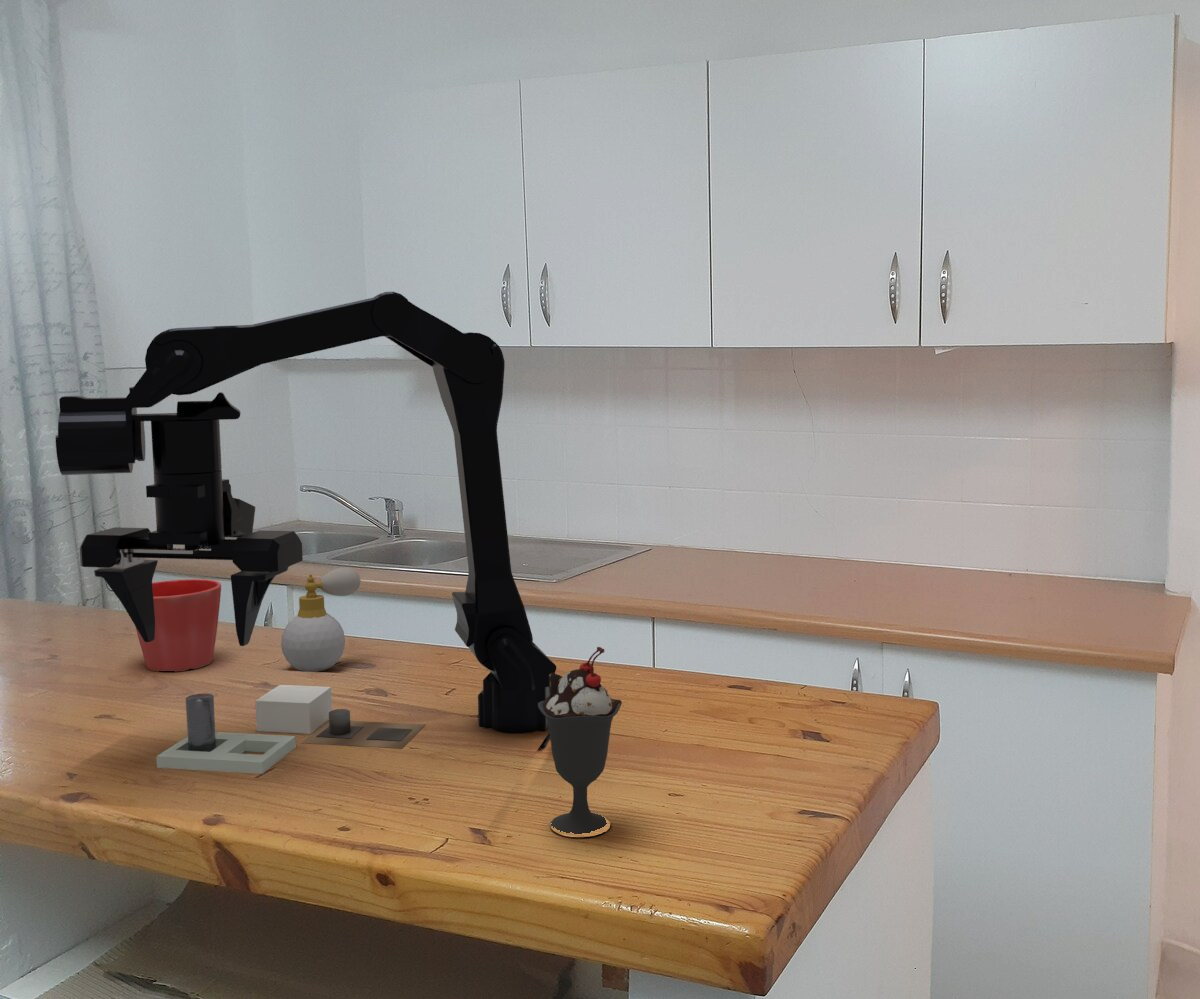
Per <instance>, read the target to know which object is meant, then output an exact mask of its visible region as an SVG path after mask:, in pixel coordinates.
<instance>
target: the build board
mask: <svg viewBox="0 0 1200 999" xmlns="http://www.w3.org/2000/svg"><path fill="white" fill-rule="evenodd" d="M215 735H216V748H215V749H214V750H212V751H211V752H204V751H188V736H186V737H184V738H183V739H181V740H179V741H178V742H177V743H175V744H173V745H172V746H171V747H169V748H167V749H165V750H164V751H162V752H161V753H159V754H158V755H156V759H155V760H156V768H157V769H173V770H175V769H176V770H188V771H189V770H193V771H204V772H205V771H210V772H211V771H212V772H227V773H229V772H230V773H241V774H242V773H243V774H260V775H261V774H264V773H265V772H266V771H268V770H269V769H270V768H272V767H273V766H274V765H275V764H277V763H278V762H279V761H281V760H283V758H285V756H287V755H289V753H291V752H292V751H293V750H294V749H295V748H297V737H296V735H284V734H283V735H282V734H281V735H280V734H279V735H278V734H264V733H263V734H258V733H243V732H242V733H241V732H223V731H221V732H220V731H215ZM244 752H251V753H244ZM252 752H256V753H257V754H254V753H252ZM258 753H262V754H258Z"/></svg>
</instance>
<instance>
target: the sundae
mask: <svg viewBox="0 0 1200 999" xmlns="http://www.w3.org/2000/svg"><path fill="white" fill-rule="evenodd" d="M598 652H599V653H598ZM603 653H605V648H602V647H601V646H597V647H596V651H595V652H593V653H592V654H591V656H590V657H589V659H588V661H586V662H583V663H581V664H580V665H579V668H578V669H574V670H570V671H568V672H566V673H565V675H563V676H562V675H560V674H557V673H555V674H554V673H551V674H550V675H549V697H547V698H546V700H545V701H541V702H539V703H538V708H539V710H540V711H541V712H542V713H543V715H544V716H546V717H547V721H548V731H549V732H548V733H550V740H549V741H550V747H551V755H552V759H553V763H554V767H555V770H556V772H557V773H558V774H559V776H560V777H561V778H562V779H563V780H564V781H565V782H567V783H568V784H569V785H571V787H572V792H573V793H572V794H573V798H572V799H573V800H572V806H571V810H570V811H569V812H568V813H563V814H560V815H558V816H555V817H554V818H553V819H552V820H551V822H550V823H552V824H551V826H553V828H554V827H555V828H556V829H557V830H560V832H561V831H563V832H566V833H570V832H572V833H574V834H582V833H590V832H591V831H595V830H597V829H600V828H602V827H604V826H605V825H606V824H607V823H606V820H605V818H604V817H602V816H601V814H600V815H598V814H599V813H596V812H592V811H591V810H590V806H589V802H588V787H589V786H590V784H592V783H593V782H595V781H596V780H597V779H598V778H599V777H600V776H601V774H602V773H603V772H604V770H605V766H606V763H607V758H608V751H609V743H610V736H611V735H610V734H611V728H612V722H613V718H614V717H615V716H616V715H617V714H618V712H619V711H620V709H621V708H622V707H621V706H622V703H623V702H622V700H621V699H617V698H612V697H611V696H610V694H609V692H608V691H607V689H606V688H605V687H604V686H603V685H602V684H601V681H602V677H601V675H599V674H597V673H595V672H594V670H595V668H594V662H595V661H596V659H597V658H598V657H599V656H600V655H601V654H603ZM596 654H597V655H596ZM592 658H593V659H592ZM591 660H592V661H591ZM590 661H591V662H590ZM595 813H596V814H595Z"/></svg>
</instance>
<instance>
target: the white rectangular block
mask: <svg viewBox="0 0 1200 999" xmlns="http://www.w3.org/2000/svg"><path fill="white" fill-rule="evenodd" d="M332 696H333V695H332V687H331V686H316V685H296V684H295V685H293V684H279V685H277V686H276V687H274V688H272V689H271V690H270V691H268V692H266V693H265V694H264V695H262V696H261V697H259V698H257V699H256V700H255V702H254V703H255V722H256V732H265V733H283V734H284V733H285V734H286V733H288V734H306V735H307V734H308V735H311V734H313V733H314V732H315V731H316V730H318V729H319V728H320V727H321V726H323V725H324V724H325V723H326V722H328V721H329V712H330V711H332V710H333V703H332V702H333V700H332V699H333V697H332Z"/></svg>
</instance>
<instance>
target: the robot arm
mask: <svg viewBox="0 0 1200 999" xmlns="http://www.w3.org/2000/svg"><path fill="white" fill-rule="evenodd" d="M381 337H382V338H383V337H385V338H386V339H388V340H389V341H391V342H392V343H394V344H396V346H399V347H400V348H402V349H404V351H406V352H408V353H409V354H411V355H412V356H414V357H415V358H417V359H418V360H420V361H422V362H423V363H424V364H426V365H428V366H430V367H431V368H432V371H433V374H434V375H433V376H434V379H435V382H436V384H437V388H438V392H439V395H440V398H441V401H442V405H443V407H444V409H445V413H446V415H447V417H448V420H449V422H450V426H451V428H452V433H453V438H454V440H453V441H454V448H455V456H456V465H457V466H456V467H457V476H458V477H457V478H458V485H459V492H460V493H459V494H460V501H461V503H460V504H461V512H462V520H463V530H464V539H465V548H466V549H465V550H466V558H467V568H468V574H467V582H466V587H465V591H453V592H452V593H451V597H452V600H453V604H454V607H455V611H456V624H455V627H454V631H455V633H456V634H457V636H459V638H460V639H461V641H462V642H463V643H464V645H465V646H466V647H467V648H468V649H469V650H470V652H471V653H472V654H473V656H474V657H475V659H476V660H477V661H478V663H480V664H481V665H482V666H483V667H484V668H485V669H487V670H489V671H490V672H489V673H488V674H487V675H486V676H485V677H484V678H483V680H482V689H481V691H480V692H479V693H478V695H477V714H478V715H477V716H478V719H477V720H478V727H479V728H483V729H488V730H489V729H491V730H493V731H495V732H497V733H500V734H501V733H502V734H511V735H512V734H514V735H516V734H518V735H521V734H530V733H534V732H546V731H547V730H549V727H548V721H547V717H546V716H544V715H543V713H542V712H541V711H540V710H539V708H538V703H539V702H541V701H545V700H546V698H547V697H549V675H550V674H551V673H554V674H556V671H557V665H556V664H555V662H553V661H552V660H551V659H550V657H549V656H547V655H546V653H544V651H543V650H541V648H540V647H539V646H538V645H536V643H535V642H534V638H533V632H532V630H531V627H530V623H529V619H528V616H527V615H528V614H527V613H526V609H525V608H526V607H525V605H524V602H523V599H522V597H521V595H520V592H519V590H518V587H517V584H516V582H515V579H514V576H513V573H512V564H511V556H510V547H509V546H510V545H509V537H508V536H509V535H508V527H507V518H506V506H505V496H504V489H503V488H504V487H503V478H502V468H501V460H500V459H501V458H500V457H501V456H500V449H499V441H498V440H499V439H498V438H499V437H498V422H499V417H500V413H501V408H502V403H503V394H504V383H505V382H504V379H505V369H506V368H505V357H504V354H503V350H502V349H501V347H500V345H499V344H498V343H496V341H495V340H493V339H492V338H491V337H490V336H488V335H486V334H484V333H483V334H482V333H480V332H462V331H461V330H459V329H458V328H456V327H454V326H453V325H451V324H449V323H448V322H446V321H444V320H442V319H441V318H439V317H436V316H435V315H433V314H432V313H429V312H428V311H426V310H424V309H422V308H420V307H419V306H417V305H416V304H414V303H413V302H411V301H409V299H408V298H407V297H406V296H404V295H403V294H401V293H399V292H396V291H383V292H381V293H379V294H377V295H375V296H373V297H369V298H365V299H360V300H357V301H352V302H346V303H343V304H339V305H335V306H334V305H333V306H330V307H324V308H320V309H316V310H313V311H306V312H302V313H299V314H298V313H297V314H294V315H289V316H284V317H280V318H275V319H272V320H267V321H261V322H257V323H254V324H253V323H252V324H243V325H242V324H240V325H238V324H237V325H214V326H213V325H212V326H192V327H176V328H168V329H165V330H163V331H162V332H160V333H159V334H156V335H155V336H154V337H153V339H152V340H151V342H150V343H149V345H148V347H147V349H146V352H145V358H144V363H145V371H144V373H143V374H142V375H141V376H140V377H139V379H138V381H137V382H136V383H135V384H134V386H131V387H128V388H129V389H128V390H129V393H128V394H127V396H126V397H125V396H124V397H87V396H81V395H65V396H61V397H60V398H59V400H58V401H59V402H58V403H59V414H58V420H57V435H55V451H56V452H55V453H56V460H57V464H58V469H59V472H60V474H61V475H62V476H75V475H76V476H77V475H78V476H79V475H107V474H108V475H109V474H111V475H113V474H131V473H133V470H134V469H133V468H134V464H136V461H137V462H145V461H146V432H145V431H146V430H145V422H150V430H151V432H150V433H151V434H150V435H151V446H152V447H151V448H152V449H151V450H152V467H153V468H152V469H153V484H150V485H149V484H148V485H145V492H146V494H145V495H146V498H154V503H155V504H154V505H155V506H154V507H155V524H156V530H154V531H151V530H150V529H149V528H148V527H118V526H117V527H116V526H115V527H111V528H108V529H104V530H99V531H95V532H91V533H88V534H86V535H85V536H84V538H83V540H82V542H81V543H80V546H79V559H80V560H79V561H80V562H79V564H80V566H81V567H82V568H98V569H95V570H94V571H93V572H94V576H95V577H97V578H98V577H99V578H102V579H103V580H104V581H105V583H106V584H107V585H108V586H109V588H110V589H111V591H112V592H113V593H114V595H115V596H116V598H117V599H118V600H119V602H120V604H122V606H123V608H124V609H125V611H126V613H127V614H128V616H129V618H130V619H131V621H132V623H133V624H134V625H133V626H136V627H135V629H136V628H137V630H138V631H139V633H140V635H141V637H142V638H143V640H144V641H145V642H151V641H153V640H154V639H155V613H154V600H153V587H152V583H153V578H154V575H155V571H156V570H157V569H156V568H157V566H158V560H157V559H171V560H172V559H176V560H179V559H180V560H212V561H213V560H215V561H218V560H219V561H222V560H223V561H232V563H233V564H234V566H236V567H237V568H238V570H240V571H239V572H238V571H237V572H235V573H233V574H231V575H230V580H231V581H230V582H231V592H232V594H231V595H232V601H233V611H234V612H233V613H234V614H233V615H234V623H235V632H236V636H237V641H238V644H239V646H240V647H245V646H248V644H249V643H250V641H251V637H252V635H253V631H254V628H255V624H256V621H257V618H258V616H259V612H260V610H261V606H262V602H263V600H264V597H265V596H266V594H267V590H268V588H269V587H270V585H271V583H272V582H273V580H274V579H275V578H276V576H278V575H281V574H283V573H286V572H287V571H288V569H289V567H291V566H293V565H296V564H298V563H300V562H303V561H304V559H303V543H302V541H301V538H300V537H299V536H298V534H297V533H296V532H295V530H261V529H260V530H257V531H254V532H253V530H254V522H255V516H256V514H255V513H256V506H254V505H253V504H251V503H249V502H247V501H244V500H242V499H240V498H236V497H233V495H232V485H231V484H230V479H227V478H226V479H225V478H224V479H223V470H222V451H221V450H222V449H221V448H222V447H221V429H220V421H221V420H223V421H225V420H238V419H239V418H240V417H241V411H240V409H238V408H237V407H235V406H234V405H233V404H232V403H231V402H230V401H229V400H228V399H227V397H226V395H225V393H224V392H222V391H220V392H218V393H217V394H216V396H215V397H214V398H213V399H212V400H191V401H190V400H186V401H184V400H182V401H177V403H176V412H166V413H165V412H164V413H163V412H162V413H138V410H137V409H138V408H139V409H140V408H143V409H144V408H145V409H146V408H147V409H148V408H153V407H154V406H155V405H157V404H159V403H161V402H162V401H164V400H165V399H166V398H168V397H169V396H171V395H176V396H186V395H187V396H188V395H192V394H196V393H198V392H200V391H203V390H205V389H207V388H210V387H212V386H214V385H216V384H219V383H221V382H224V381H226V380H228V379H231V378H233V377H235V376H236V377H237V375H240V374H243V373H244V372H247V371H249V370H252V369H254V368H257V367H258V366H259V367H260V366H261V365H265V364H268V363H272V362H277V361H281V360H285V359H286V360H287V359H290V358H294V357H299V356H303V355H306V354H307V355H308V354H312V353H316V352H320V351H321V352H322V351H324V350H330V349H332V348H333V349H334V348H338V347H341V346H346V345H351V344H355V343H359V342H360V343H361V342H362V341H368V340H371V339H373V340H374V339H376V338H381ZM229 538H231V539H229ZM234 538H235V539H234ZM174 545H179V546H181V545H182V546H184V548H183V547H182V548H181V547H178V548H176V547H175V548H174ZM137 630H136V631H137ZM549 741H551V740H550V733H549V732H548V733H547V735H546V736H545V738H544V740H543V741H541V742H542V743H541V744H540V746H539V747H538V750H543V749H545V748H546V747H547V745H548V743H549Z"/></svg>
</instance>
